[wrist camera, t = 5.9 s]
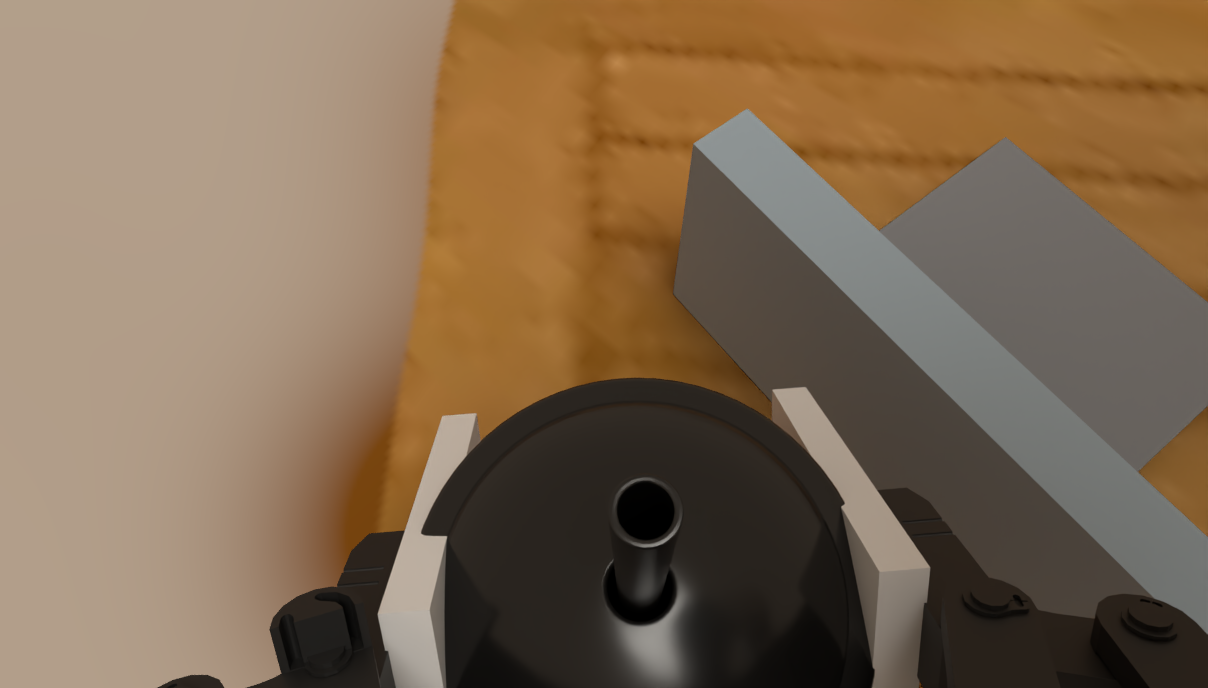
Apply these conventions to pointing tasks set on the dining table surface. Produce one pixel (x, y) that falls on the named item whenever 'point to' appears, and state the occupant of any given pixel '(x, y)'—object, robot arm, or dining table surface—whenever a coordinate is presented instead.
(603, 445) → the drinking cup
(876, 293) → the low wall
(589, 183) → the dining table surface
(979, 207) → the rubber mat
